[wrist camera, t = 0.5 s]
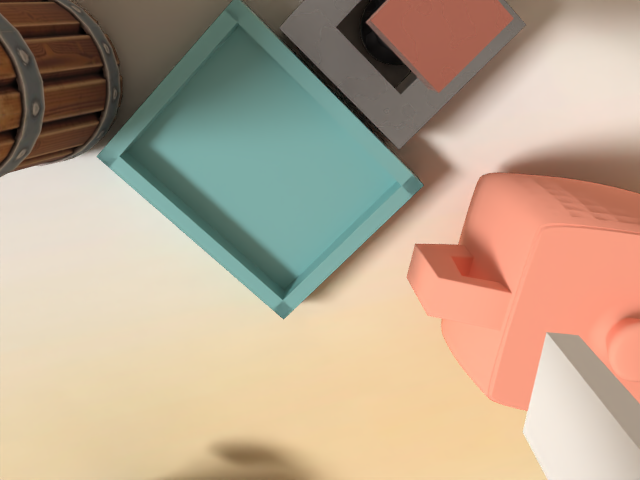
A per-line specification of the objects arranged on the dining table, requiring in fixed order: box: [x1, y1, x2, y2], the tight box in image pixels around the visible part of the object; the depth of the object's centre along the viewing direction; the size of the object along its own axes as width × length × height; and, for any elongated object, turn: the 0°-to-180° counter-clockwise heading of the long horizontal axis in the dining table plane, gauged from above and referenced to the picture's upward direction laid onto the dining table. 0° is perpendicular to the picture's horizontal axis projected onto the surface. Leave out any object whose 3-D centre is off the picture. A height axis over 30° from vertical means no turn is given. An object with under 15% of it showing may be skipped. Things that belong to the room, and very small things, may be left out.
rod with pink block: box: [360, 0, 514, 93], centre depth 31 cm, size 4×4×15 cm
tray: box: [97, 0, 424, 319], centre depth 40 cm, size 16×13×2 cm
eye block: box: [279, 0, 526, 149], centre depth 37 cm, size 10×10×4 cm
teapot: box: [407, 173, 640, 411], centre depth 37 cm, size 22×13×14 cm, turn 79°
